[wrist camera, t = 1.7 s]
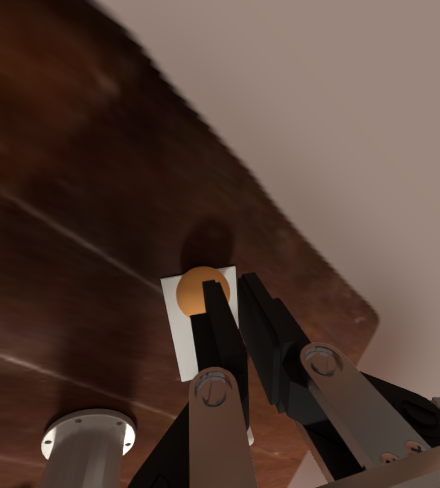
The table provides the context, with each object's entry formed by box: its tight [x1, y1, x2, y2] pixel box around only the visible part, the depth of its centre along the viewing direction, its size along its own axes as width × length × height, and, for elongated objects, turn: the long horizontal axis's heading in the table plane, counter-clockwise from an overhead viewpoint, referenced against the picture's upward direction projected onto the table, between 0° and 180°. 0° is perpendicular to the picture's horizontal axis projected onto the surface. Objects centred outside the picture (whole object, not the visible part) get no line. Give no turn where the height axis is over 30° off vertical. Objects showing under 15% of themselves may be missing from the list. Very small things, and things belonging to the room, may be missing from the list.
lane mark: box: [161, 266, 239, 382], centre depth 34 cm, size 18×9×1 cm, turn 4°
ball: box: [176, 266, 230, 318], centre depth 28 cm, size 6×6×6 cm
